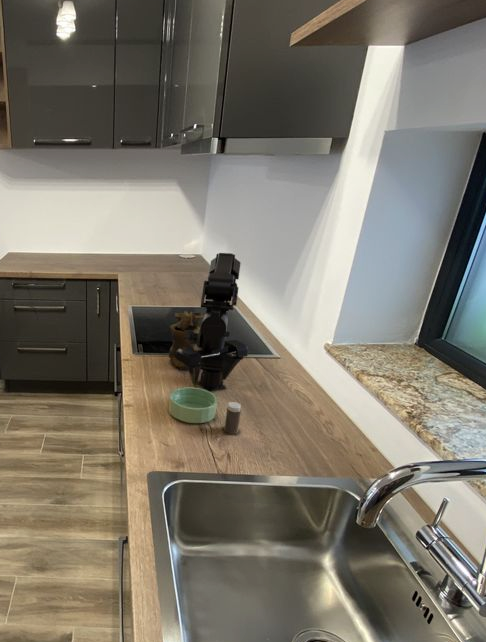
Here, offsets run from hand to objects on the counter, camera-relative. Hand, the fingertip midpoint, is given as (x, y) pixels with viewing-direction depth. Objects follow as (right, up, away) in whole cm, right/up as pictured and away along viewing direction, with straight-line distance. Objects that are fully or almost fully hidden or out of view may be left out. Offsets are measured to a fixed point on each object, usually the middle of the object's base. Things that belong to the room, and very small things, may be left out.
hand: (209, 382), depth 118 cm
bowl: (-2, -9, +10) cm, 14 cm away
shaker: (+6, -13, +1) cm, 15 cm away
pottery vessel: (+1, +4, +42) cm, 42 cm away
